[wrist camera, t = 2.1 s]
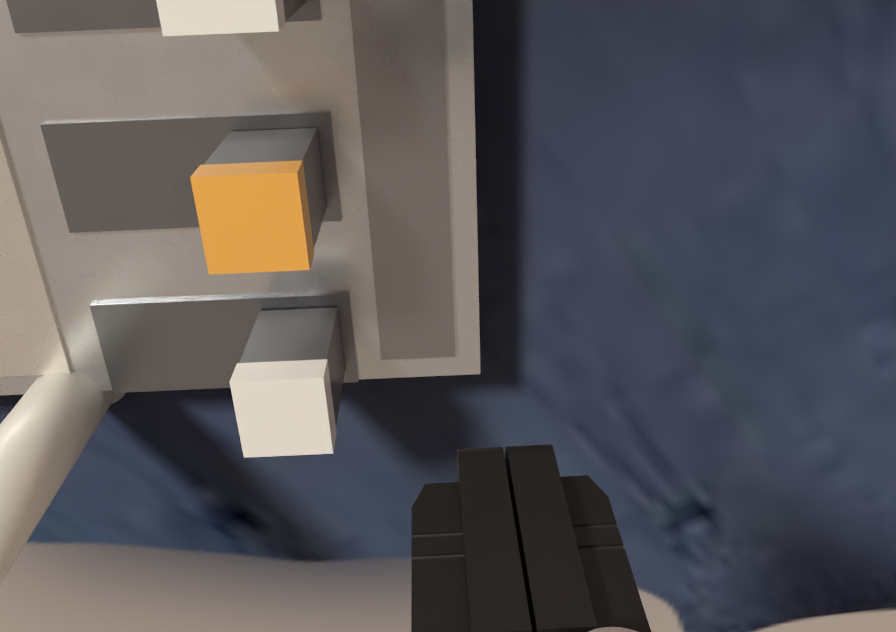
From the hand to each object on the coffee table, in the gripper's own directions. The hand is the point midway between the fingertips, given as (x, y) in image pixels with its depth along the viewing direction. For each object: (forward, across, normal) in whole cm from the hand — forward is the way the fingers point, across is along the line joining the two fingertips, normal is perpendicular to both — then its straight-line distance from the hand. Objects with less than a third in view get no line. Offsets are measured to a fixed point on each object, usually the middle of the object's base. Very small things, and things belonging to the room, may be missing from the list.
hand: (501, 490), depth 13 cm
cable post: (+21, +16, +10) cm, 28 cm away
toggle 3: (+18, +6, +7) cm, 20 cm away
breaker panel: (+21, +11, 0) cm, 24 cm away
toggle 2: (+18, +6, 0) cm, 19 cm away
